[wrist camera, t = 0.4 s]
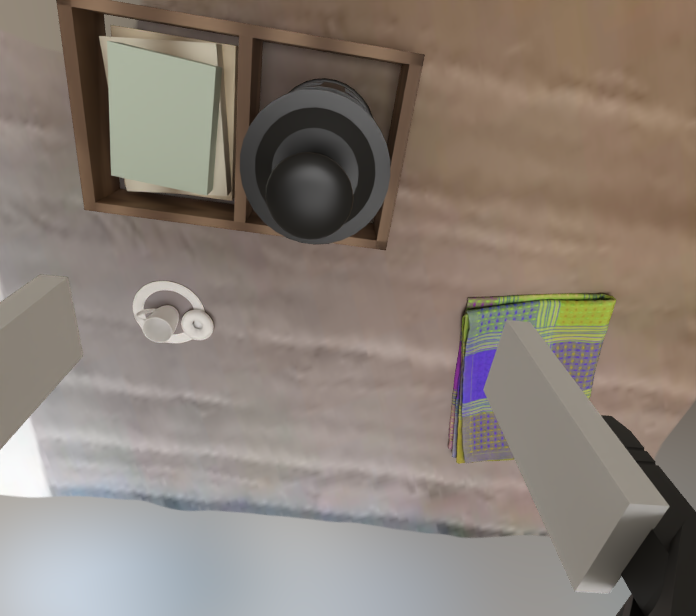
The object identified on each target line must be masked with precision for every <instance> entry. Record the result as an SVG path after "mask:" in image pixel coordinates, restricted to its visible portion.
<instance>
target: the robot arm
mask: <svg viewBox="0 0 696 616" xmlns="http://www.w3.org/2000/svg"><path fill="white" fill-rule="evenodd" d="M82 357H83V352H82V347H81V342H80V337H79V331H78V326H77V321H76V316H75V311H74V306H73V300H72V295H71V290H70V285H69V280H68V277H61V276H51V275H39V276H37V277H36V278H35V279H33V280H32V281H30V282H29V283H27V284H26V285H25V286H23V287H22V288H20V289H19V290H17V291H16V292H14V293H13V294H12V295H10V296H9V297H7V298H6V299H4V300H3V301H2V302H0V449H1V448H2V447H3V446H4V445H5V444H6V443H7V442H8V440H9V439H10V438H11V437H12V436H13V435H14V434H15V432H16V431H17V430H18V429H19V428H20V427H21V426H22V425H23V423H24V422H25V421H26V420H27V419H28V418H29V417H30V415H31V414H32V413H33V412H34V411H35V410H36V409H37V408H38V406H39V405H40V404H41V403H42V402H43V401H44V400H45V398H46V397H47V396H48V395H49V394H50V393H51V392H52V391H53V389H54V388H55V387H56V386H57V385H58V384H59V383H60V382H61V380H62V379H63V378H64V377H65V376H66V375H67V374H68V372H69V371H70V370H71V369H72V368H73V367H74V366H75V365H76V363H77V362H78V361H79V360H80V359H81V358H82ZM483 390H484V392H485V395H486V397H487V399H488V401H489V403H490V406H491V408H492V410H493V412H494V415H495V417H496V419H497V421H498V423H499V426H500V428H501V430H502V432H503V434H504V437H505V439H506V441H507V443H508V445H509V448H510V450H511V452H512V454H513V456H514V459H515V461H516V463H517V465H518V468H519V470H520V472H521V474H522V476H523V479H524V481H525V483H526V485H527V487H528V490H529V492H530V494H531V496H532V498H533V501H534V503H535V505H536V507H537V510H538V512H539V514H540V516H541V518H542V521H543V523H544V525H545V527H546V529H547V532H548V534H549V536H550V538H551V540H552V543H553V545H554V547H555V549H556V551H557V554H558V556H559V558H560V560H561V562H562V565H563V567H564V569H565V571H566V573H567V576H568V578H569V580H570V582H571V585H572V587H573V589H574V591H575V592H590V593H610V592H611V591H612V589H613V588H614V586H615V585H616V583H617V582H618V580H619V579H620V578H621V576H622V577H623V579H624V580H625V582H626V584H627V586H628V588H629V590H630V591H631V593H632V594H631V596H630V597H629V598H628V600H627V601H626V602H625V604H624V605H623V607H622V608H621V609H620V611H619V612H618V613H617V615H616V616H696V512H695V510H694V509H693V508H692V507H691V506H690V504H689V503H688V502H687V500H686V499H685V498H684V497H683V496H682V494H680V492H679V491H678V489H677V488H676V487H675V486H674V484H673V483H672V482H671V481H670V479H669V478H668V477H667V476H666V475H665V473H664V472H663V471H662V469H661V468H660V467H659V466H657V465H655V461H654V460H653V458H652V457H651V456H650V455H649V453H648V452H647V451H644V447H643V446H642V445H641V443H640V442H639V441H638V440H637V438H636V437H635V436H634V435H633V434H632V432H631V431H630V430H628V429H627V428H626V427H625V426H623V425H622V424H621V423H619V422H618V421H617V420H616V419H614V418H613V417H612V416H603V415H600V414H599V412H598V411H597V410H596V408H595V407H594V406H593V404H592V403H591V402H590V400H589V399H588V398H587V396H586V395H585V394H584V392H583V391H582V390H581V389H580V387H579V386H578V385H577V383H576V382H575V381H574V379H573V378H572V377H571V375H570V374H569V373H568V371H567V370H566V369H565V367H564V366H563V365H562V363H561V362H560V361H559V359H558V358H557V357H556V356H555V354H554V353H553V352H552V350H551V349H550V348H549V346H548V345H547V344H546V342H545V341H544V340H543V338H542V337H541V336H540V334H539V333H538V332H537V330H536V329H535V328H534V326H533V325H532V324H531V323H530V322H524V321H514V320H506V323H505V326H504V329H503V332H502V335H501V338H500V341H499V344H498V347H497V350H496V353H495V356H494V359H493V362H492V365H491V368H490V371H489V374H488V377H487V380H486V383H485V386H484V389H483Z"/></svg>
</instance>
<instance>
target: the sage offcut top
mask: <svg viewBox="0 0 696 616" xmlns="http://www.w3.org/2000/svg"><path fill="white" fill-rule="evenodd" d="M107 55H108V88H109V122H110V155H111V176H116V177H121V178H126V179H130V180H135V181H140V182H145V183H150V184H154V185H159V186H164V187H169V188H173V189H178V190H183V191H188V192H192V193H197V194H202V195H208V194H209V193H210V192H211V191H212V190H213V181H214V168H215V154H216V141H217V128H218V115H219V102H220V89H221V76H222V67H219V66H215V65H211V64H206V63H202V62H198V61H194V60H190V59H186V58H182V57H178V56H173V55H169V54H165V53H161V52H157V51H153V50H149V49H144V48H140V47H136V46H132V45H128V44H124V43H120V42H112V41H107Z"/></svg>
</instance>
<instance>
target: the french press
mask: <svg viewBox="0 0 696 616" xmlns="http://www.w3.org/2000/svg"><path fill="white" fill-rule="evenodd" d="M240 175H241V181H242V186H243V189H244V191H245V194H246V197H247V199H248V201H249V203H250V204H251V206H252V208H253V210H254V211H255V213H256V214H257V215H258V216H259V217H260V218H261V219H262V221H263V222H264V223H265V224H267V225H268V226H269V227H270V228H272V229H273V230H274V231H275V232H277V233H279V234H281V235H283V236H285V237H286V238H288V239H291V240H295V241H298V242H301V243H308V244H329V243H333V242H337V241H341V240H343V239H346V238H348V237H350V236H352V235H354V234H356V233H357V232H358V231H360V230H361V229H362V228H364V227H365V226H366V225H367V224H368V223H369V222H370V221H371V220H372V219H373V218H374V217H375V215H376V214H377V212H378V210H379V209H380V207H381V206H382V204H383V202H384V199H385V196H386V194H387V191H388V186H389V181H390V157H389V153H388V148H387V144H386V142H385V139H384V137H383V135H382V132H381V130H380V129H379V127H378V126H377V124H376V123H375V121H374V119H373V117H372V114H371V112H370V110H369V107H368V106H367V104H366V103H365V101H364V100H363V98H362V97H361V96H360V95H359V94H358V93H357V92H356V91H355V90H354V89H352V88H351V87H349V86H348V85H346V84H344V83H342V82H339V81H337V80H332V79H326V78H324V79H313V80H310V81H306V82H304V83H302V84H300V85H298V86H296V87H295V88H294V89H292V90H291V91H290V92H289V93H288V94H286V95H283V96H282V97H280V98H278V99H276V100H274V101H273V102H271V103H270V104H269V105H267V106H266V107H265V108H264V109H263V110H262V111H261V112H260V113H259V114H258V115H257V116H256V118H255V119H254V120H253V122H252V123H251V125H250V126H249V128H248V131H247V133H246V135H245V137H244V139H243V144H242V148H241V153H240Z"/></svg>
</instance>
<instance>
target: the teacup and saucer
mask: <svg viewBox="0 0 696 616" xmlns="http://www.w3.org/2000/svg"><path fill="white" fill-rule="evenodd" d="M161 290H169V291H174V292H177V293H179V294H181V295H183V296H184V297H185V298H187V299H188V300H189V301H190V303H191V304H192V306H193V308H194V310H191V311H188V312H186V313H185V314H184V315H183V317H182V320H181V326H182V329H183V331H184V333H181V334H173V333H174V331H175V329H176V327H177V325H178V322H179V313H178V311H177V309H176V308H174V307H173V306H170V305H165V306H161V307H159V308H158V309H155V308H150V309H144V303H145V301H146V299H147V298H148V296H150V295H151V294H152V293H154V292H157V291H161ZM133 313H134V317H135V320H136V321H137V323H138V324H139V326H140V327H141V328H142V331H143V333H144V335H145V336H146V337H147V338H148V339H149V340H151V341H153V342H157V343H163V342H168V343H183V342H187V341H190V340H192V339H195V340H205V339H207V338H209V337H210V336H211V334H212V333H213V329H214V325H213V321H212V319H211V318H210V316H209V315H208V314H206V313H205V310H204V307H203V305H202V303H201V301H200V300H199V298H198V297H197V296H196V295H195V294H194V293H193V292H192V291H191V290H189V289H188V288H186V287H184V286H182V285H180V284H178V283H175V282H170V281H156V282H151V283H149V284H147V285H145V286H143V287H142V288H141V289H140V290H139V291H138V292H137V293H136V295H135V297H134V300H133ZM146 313H152V314H151V315H150V316H149V317H148V318H147V319H146V317H145V314H146ZM193 321H195V322H194V324H192V323H193Z"/></svg>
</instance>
